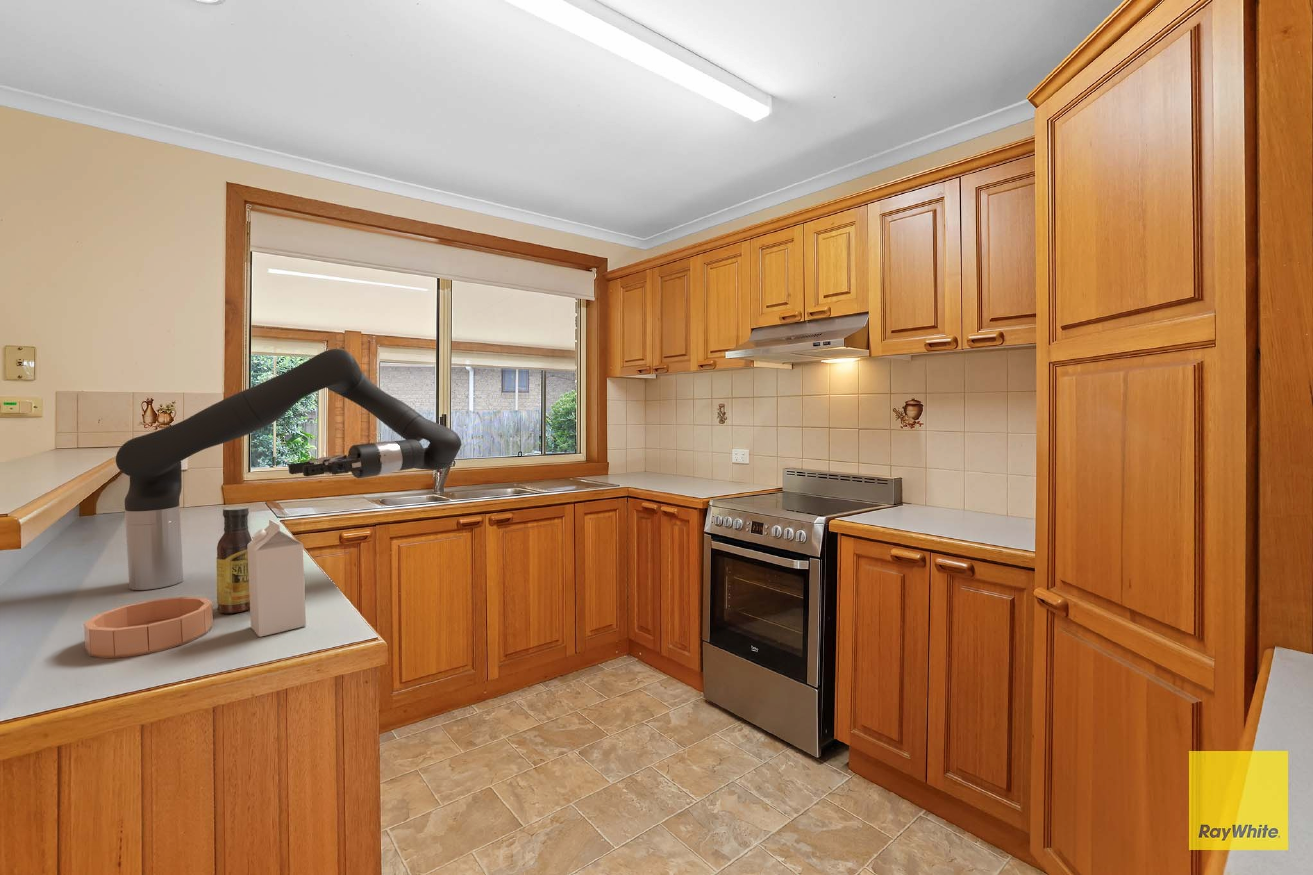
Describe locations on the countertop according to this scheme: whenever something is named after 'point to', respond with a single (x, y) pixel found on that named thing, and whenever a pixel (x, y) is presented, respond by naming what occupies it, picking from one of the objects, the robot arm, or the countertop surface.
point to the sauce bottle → (233, 562)
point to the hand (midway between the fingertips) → (296, 470)
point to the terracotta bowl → (147, 627)
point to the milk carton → (276, 581)
